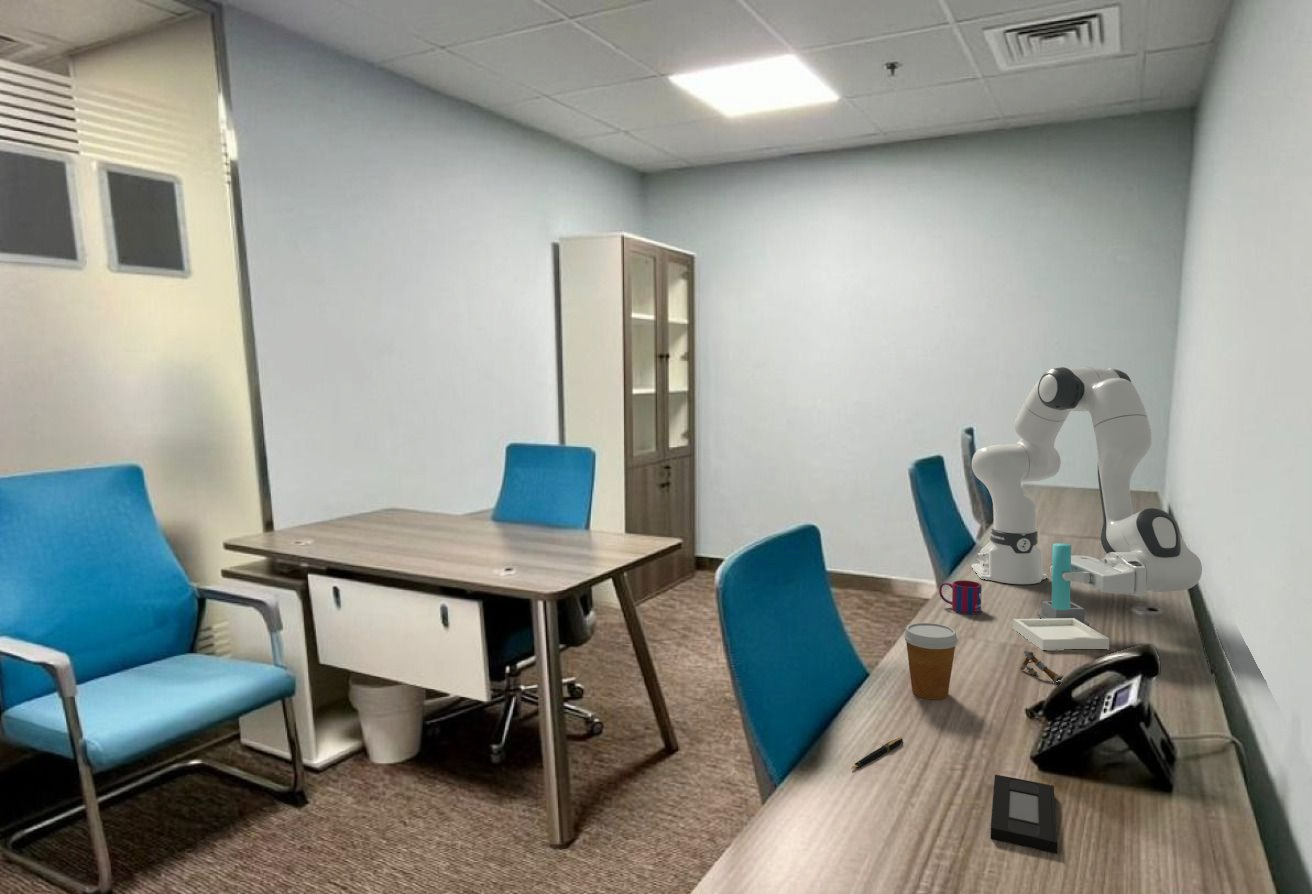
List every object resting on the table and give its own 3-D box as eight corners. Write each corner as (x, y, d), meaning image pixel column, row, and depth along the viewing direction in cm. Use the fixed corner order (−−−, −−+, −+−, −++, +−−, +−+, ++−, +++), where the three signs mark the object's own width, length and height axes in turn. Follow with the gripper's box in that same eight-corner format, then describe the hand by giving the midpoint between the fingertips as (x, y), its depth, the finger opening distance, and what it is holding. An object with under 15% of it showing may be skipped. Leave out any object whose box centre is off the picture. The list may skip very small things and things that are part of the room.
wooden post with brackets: (1020, 664, 152) (1029, 646, 150) (1054, 692, 146) (1063, 674, 144) (1014, 666, 151) (1023, 648, 149) (1048, 694, 145) (1058, 676, 143)
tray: (1012, 629, 175) (1012, 619, 175) (1073, 628, 175) (1074, 618, 175) (1042, 650, 162) (1042, 639, 161) (1109, 649, 161) (1109, 638, 161)
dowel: (1048, 605, 169) (1049, 543, 168) (1064, 605, 169) (1065, 543, 168) (1056, 610, 166) (1057, 546, 165) (1073, 609, 166) (1074, 546, 165)
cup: (975, 616, 186) (975, 588, 185) (935, 608, 192) (935, 582, 192) (985, 609, 191) (985, 583, 190) (945, 602, 197) (946, 576, 197)
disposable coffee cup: (892, 687, 144) (892, 625, 143) (933, 679, 147) (933, 619, 146) (926, 707, 135) (927, 641, 134) (969, 698, 138) (970, 634, 137)
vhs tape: (990, 842, 96) (990, 827, 96) (994, 787, 109) (994, 774, 109) (1057, 857, 93) (1057, 842, 93) (1053, 799, 106) (1053, 785, 106)
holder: (1037, 616, 184) (1037, 600, 184) (1070, 616, 184) (1071, 599, 184) (1054, 627, 176) (1054, 610, 176) (1088, 626, 176) (1089, 609, 176)
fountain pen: (853, 775, 113) (853, 765, 113) (846, 772, 114) (846, 762, 114) (906, 744, 122) (906, 735, 122) (899, 741, 123) (899, 732, 123)
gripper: (1094, 548, 177) (1034, 549, 177) (1150, 568, 156) (1082, 570, 157) (1093, 574, 177) (1034, 575, 178) (1149, 599, 157) (1081, 600, 157)
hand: (1057, 573), depth 167 cm, fingers closed on dowel, 4 cm apart
